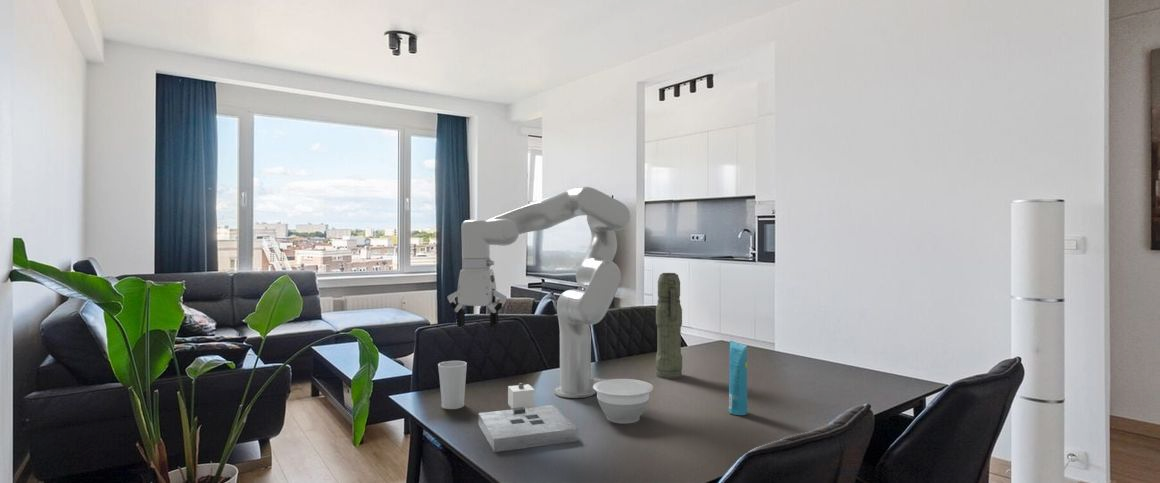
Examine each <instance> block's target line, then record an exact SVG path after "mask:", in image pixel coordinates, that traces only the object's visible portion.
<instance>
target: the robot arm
mask: <svg viewBox="0 0 1160 483" xmlns="http://www.w3.org/2000/svg"><path fill="white" fill-rule="evenodd" d="M579 216H581V217H582V216H586V222H587V225H588V227H589V230H590V234H591V239H590V244H589V246H588V249H587V251H586V253H585V255H584V256H583V258H582V260H581V262H580V264H579V266H578V268H577V270H576V273H575V281H576V283H577V285H579V286H580V287H581V288H583V289H585V290H581V289H568V290H565V291H563V292H562V293H561V294H560V295H559V297H558V298H557V301H556V315H557V320H558V325H559V386H557V387H556V388H554V394H555V395H557V397H560V398H561V397H562V398H565V399H566V398H567V399H584V398H585V399H586V398H588V397H592V396H595V394H597V391H596V390H594V389H593V385H594V384H595V383H597V382H600V381H603V380H606V378H599V377H592V365H591V364H592V363H591V362H592V357H591V356H592V355H591V354H592V353H591V352H592V344H591V343H592V342H591V341H592V334H591V328H590V326H591V325H592V326H593V325H596V324H598V323H600V322H601V320H603V319H604V317H605V316H606V314H607V312H608V310H609V308H610V306H611V304H612V302H613V300H614V298H615V296H616V293H617V292H618V289H619V287H620V286H621V285H620V284H621V279H622V276H621V275H622V273H621V270H620V268H619V266H618V265H617V263H616V262H614V261H613V260H614V258H615V256H616V254H617V253H616V252H617V250H618V242H617V236H616V231H622V230H623V229H625V228H626V227H627V226H628V225H629V223H630V222H631V221H630V220H631V212H630V210H629V208H628V206H626V204H624V202H622V201H620V200H617V199H615V198H614V197H612V196H610V195H608V194H606V193H604V192H602V191H600V190H598V189H596V188H593V187H590V186H581V187H575V188H574V187H573V188H569V189H567V190H564V191H561V192H559V193H555V194H554V195H550V196H548V197H546V198H543V199H541V200H537V201H534V202H531V203H530V204H527V205H525V206H522V207H521V206H520V207H519V208H516V209H513V210H510V211H507V212H505V213H502V214H499V215H496V216H495V217H491V218H489V219H487V220H484V219H467V220H463V222H462V223H461V227H460V229H461V232H460V233H461V263H462V265H461V266H462V267H461V269H460V271H459V275H458V282H457V290H456V291H454V292H453V293H451V294H449V295H447V297H446V298H447V300H448V302H449V303H450V307H451V308H452V309H453V310H454V312H455V313H456V323H457V327H459V328H460V327H463V326H465V324H466V311H465V310H464V309H465V308H466V307H487V308H488V309H489V310H490V311H491V312H490V313H489V326H490V328H495V327H497V326H498V325H499V312H500V310H501V309H502V308H503V307H504V306H505V303H506V301H507V298H508V297H507V295H505V294H503V293H501V292H500V291H498V290H497V285H496V284H497V283H496V278H495V272H494V270H493V268H491V266H495V261H494V260H493V259H492V260H491V255H490V253H491V252H490V246H499V247H500V246H503V247H504V246H506V247H507V246H509V245H510V246H511V245H512V244H514V243H515V242H516V241H517V239H518V238H519V235H522V234H525V233H530V232H531V233H532V232H538V231H544V230H547V229H550V228H553V227H555V226H557V225H558V224H561V223H564V222H566V221H569V220H572V219H574V218H576V217H579ZM455 298H457V301H456V299H455ZM497 299H499V302H498V301H497ZM497 302H498V303H497Z"/></svg>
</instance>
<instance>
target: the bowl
mask: <svg viewBox="0 0 1160 483" xmlns="http://www.w3.org/2000/svg"><path fill="white" fill-rule="evenodd" d="M593 389H594V390H596V397H597V402H598V404H599V406H600V408H601V410H602V412H603V414H604V415H605V416H606V419H607V421H609V422H612V423H615V424H632V423H636V422H639V421H640V418H641V415H642V414H643V413H644V411H645V409H646V408H647V406H648V404H649V400H650V393H651V392H652V391H653V390H654V385H653V384H651V383H649V382H647V381H643V380H639V379H632V378H611V379H609V378H608V379H605V380H603V381H600V382H597V383H595V384H594V385H593Z"/></svg>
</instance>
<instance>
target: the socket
mask: <svg viewBox="0 0 1160 483" xmlns="http://www.w3.org/2000/svg"><path fill="white" fill-rule="evenodd" d="M478 426H479V429H480V430H481V431H482V433H483V435H484V438H485V439H486V441H487V442H488V444H489V446H490V448H491V449H492V452H494V453H500V452H506V451H507V452H508V451H513V450H521V449H529V448H535V447H536V448H537V447H544V446H550V445H560V444H564V443H565V444H567V443H573V442H578V441H579V439H578V438H579V432H578V431H579V429H578V428H577V426H576V425H575V424H574V423H573V422H572V421H570V419H568V418H567V416H565V415H564V414H563V413H562V412H561V411H560V410H559V409H558V408H557V407H556V406H555V405H554V404H550V405H542V406H541V405H540V406H535V407H530V408H524V407H518V408H512V410H511V409H504V410H503V409H502V410H496V411H486V412H485V411H483V412H478Z"/></svg>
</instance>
